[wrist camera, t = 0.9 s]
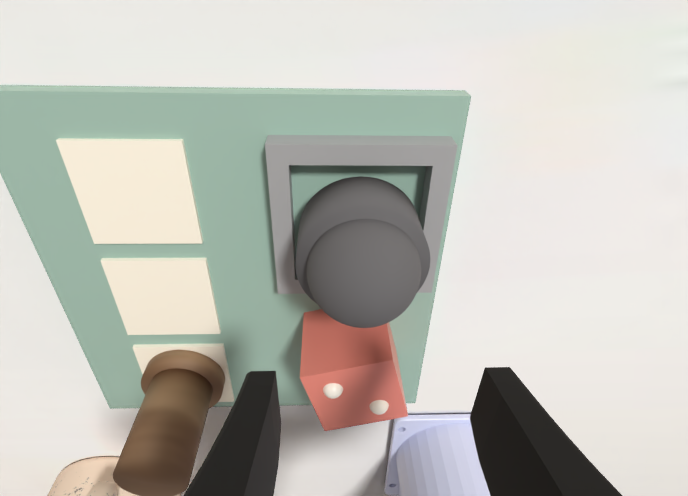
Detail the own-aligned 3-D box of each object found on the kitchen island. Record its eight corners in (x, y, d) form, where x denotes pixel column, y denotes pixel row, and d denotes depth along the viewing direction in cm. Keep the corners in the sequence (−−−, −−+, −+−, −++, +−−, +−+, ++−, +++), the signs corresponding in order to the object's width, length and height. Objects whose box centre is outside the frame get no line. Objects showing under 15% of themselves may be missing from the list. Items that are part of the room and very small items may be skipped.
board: (412, 391, 26) (418, 417, 25) (115, 396, 26) (102, 423, 24) (464, 90, 16) (478, 103, 15) (-23, 84, 16) (-60, 98, 14)
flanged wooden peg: (229, 399, 25) (207, 502, 20) (155, 400, 24) (115, 504, 20) (219, 349, 22) (191, 452, 18) (137, 350, 22) (87, 454, 17)
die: (396, 350, 23) (409, 423, 20) (324, 364, 24) (324, 437, 20) (382, 296, 21) (393, 366, 17) (303, 312, 21) (299, 384, 18)
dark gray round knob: (411, 278, 19) (433, 359, 15) (301, 278, 18) (294, 361, 15) (425, 176, 16) (456, 245, 12) (296, 176, 16) (287, 245, 12)
